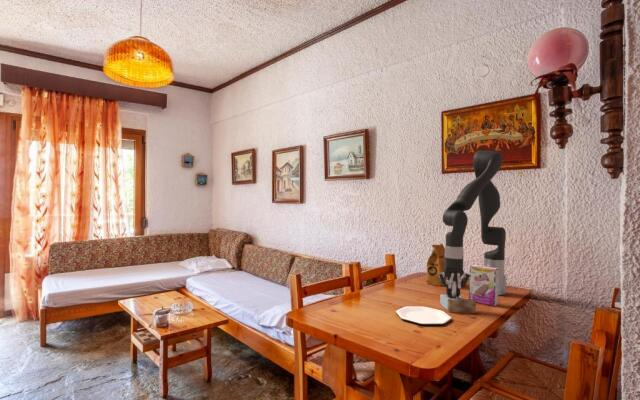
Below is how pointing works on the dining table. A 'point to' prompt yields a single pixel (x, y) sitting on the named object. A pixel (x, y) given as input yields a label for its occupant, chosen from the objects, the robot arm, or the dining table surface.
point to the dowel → (453, 289)
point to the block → (446, 300)
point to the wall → (462, 305)
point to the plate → (423, 315)
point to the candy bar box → (484, 285)
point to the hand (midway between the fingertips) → (453, 296)
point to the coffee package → (436, 265)
